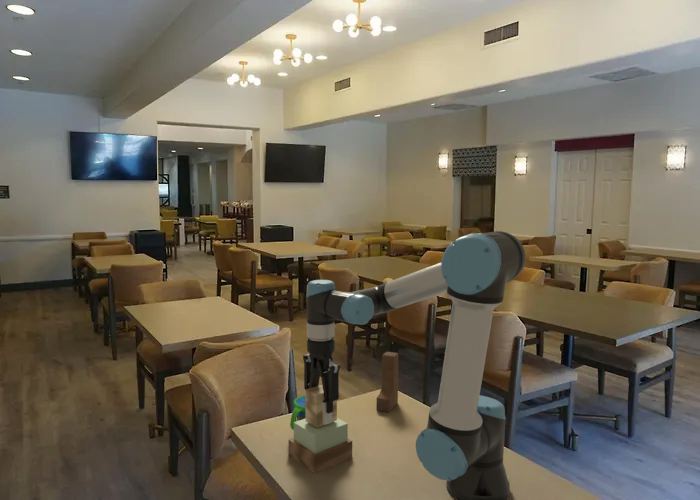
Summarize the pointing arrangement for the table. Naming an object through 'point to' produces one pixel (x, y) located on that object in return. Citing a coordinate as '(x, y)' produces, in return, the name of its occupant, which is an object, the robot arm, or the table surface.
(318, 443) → the sage slab
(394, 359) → the wooden block
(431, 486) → the table surface
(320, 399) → the oak block
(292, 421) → the snack cup
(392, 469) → the table surface
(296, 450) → the walnut slab
